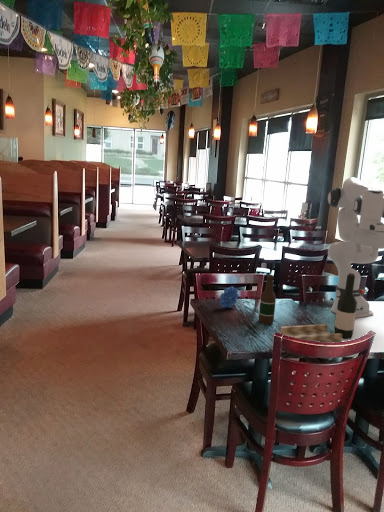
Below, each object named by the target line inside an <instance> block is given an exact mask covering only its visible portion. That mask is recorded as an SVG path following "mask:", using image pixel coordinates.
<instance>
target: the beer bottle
mask: <svg viewBox="0 0 384 512" xmlns="http://www.w3.org/2000/svg"><path fill="white" fill-rule="evenodd" d="M274 279H275V276H274V275H273V274H266V280H265V288H264V291H263V292H262V294H261V295H260V300H259V308H258V318H257V319H258V320H257V321H258V323H259V324H262V325H273V323H274V319H275V311H276V303H277V302H276V300H277V299H276V297H277V296H276V294H275V292H274Z"/></svg>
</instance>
